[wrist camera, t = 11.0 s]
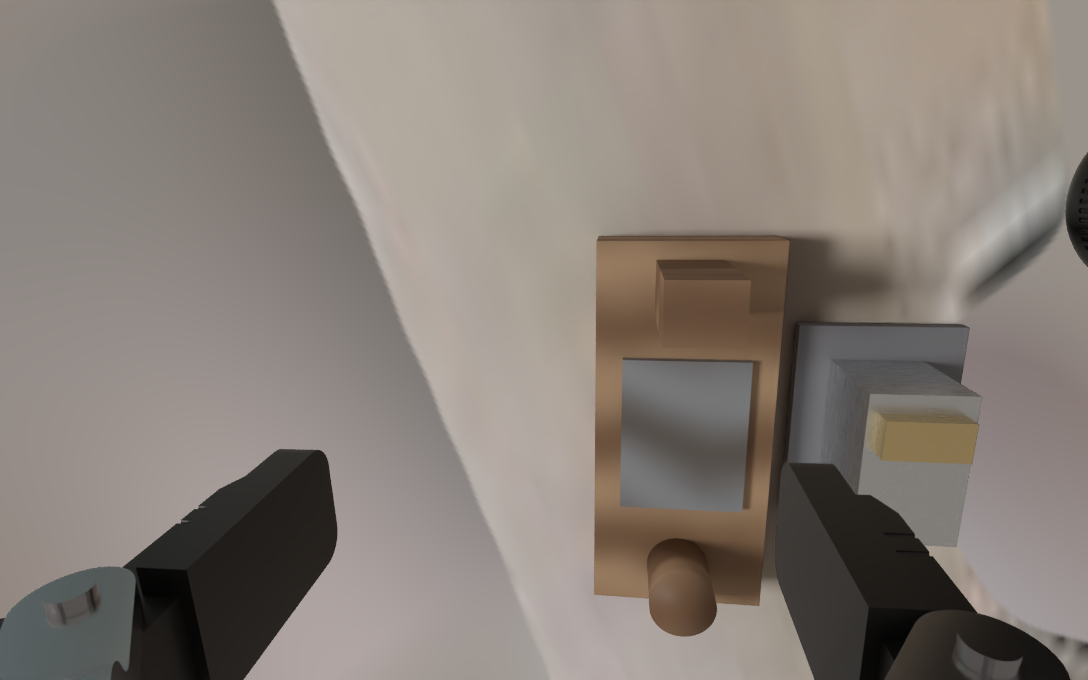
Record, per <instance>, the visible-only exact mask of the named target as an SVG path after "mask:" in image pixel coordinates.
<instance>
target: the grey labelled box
mask: <svg viewBox="0 0 1088 680" xmlns="http://www.w3.org/2000/svg"><path fill="white" fill-rule="evenodd" d="M981 401H982V397H981V396H980V395H978V394H976V393H975V392H973V391H972V390H969V389H968V388H966V387H965V386H963V385H961V384H960V383H958V382H957V381H955V380H953V379H952V378H950V377H948V376H947V375H945V374H943V373H942V372H940V371H939V370H937V369H935V368H934V367H932V366H930V365H929V364H927V363H925V362H924V361H886V360H837V359H830V368H829V377H828V387H827V396H826V406H825V416H824V425H823V435H822V444H821V454H820V463H825V464H834V465H835V466H836V467H837V469H838V470H839V472H840V473H841V474H842V476H843V477H844V479H845V480H846V481H847V483H848V484H849V486H850V487H851V489H852V490H853V491H854V493H855V494H858V495H871V496H873V497H875V498H876V499H878V500H879V501H881V502H882V503H884V504H885V505H887V506H888V507H890V508H891V509H893V510H895V511H896V512H898V513H899V514H900V516H901V517H902V518H903V519H904V521H905V522H906V523H907V525H908V526H909V527H910V528H911V530H912V531H913V532H914V533H915V538H919V540H920V541H921V542H922V543H923V545H927V546H945V547H957V542H958V536H959V530H960V524H961V518H962V512H963V505H964V500H965V494H966V489H967V483H968V477H969V471H970V465H971V464H972V462H973V456H974V451H975V445H976V439H977V433H978V427H979V424H978V418H979V412H980V407H981Z"/></svg>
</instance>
